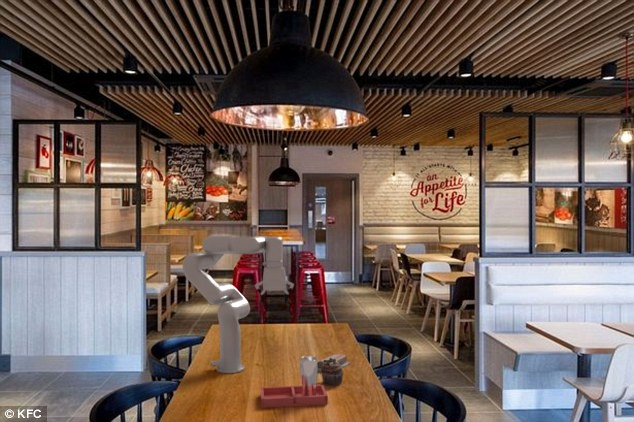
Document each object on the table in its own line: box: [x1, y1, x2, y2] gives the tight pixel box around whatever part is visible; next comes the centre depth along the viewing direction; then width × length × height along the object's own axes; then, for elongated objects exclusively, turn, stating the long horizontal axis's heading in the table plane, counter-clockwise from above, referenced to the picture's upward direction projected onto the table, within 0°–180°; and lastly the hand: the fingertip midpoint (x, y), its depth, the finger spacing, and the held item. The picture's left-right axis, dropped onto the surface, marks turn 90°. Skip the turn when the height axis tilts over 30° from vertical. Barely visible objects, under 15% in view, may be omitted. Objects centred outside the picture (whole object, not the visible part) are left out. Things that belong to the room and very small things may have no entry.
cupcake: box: [320, 358, 344, 387], centre depth 223 cm, size 10×10×10 cm
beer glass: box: [299, 355, 319, 396], centre depth 204 cm, size 7×7×15 cm
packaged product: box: [317, 353, 351, 373], centre depth 245 cm, size 18×5×10 cm
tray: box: [260, 384, 329, 409], centre depth 203 cm, size 25×13×3 cm, turn 97°
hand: (274, 303), depth 232 cm, fingers open, 9 cm apart
